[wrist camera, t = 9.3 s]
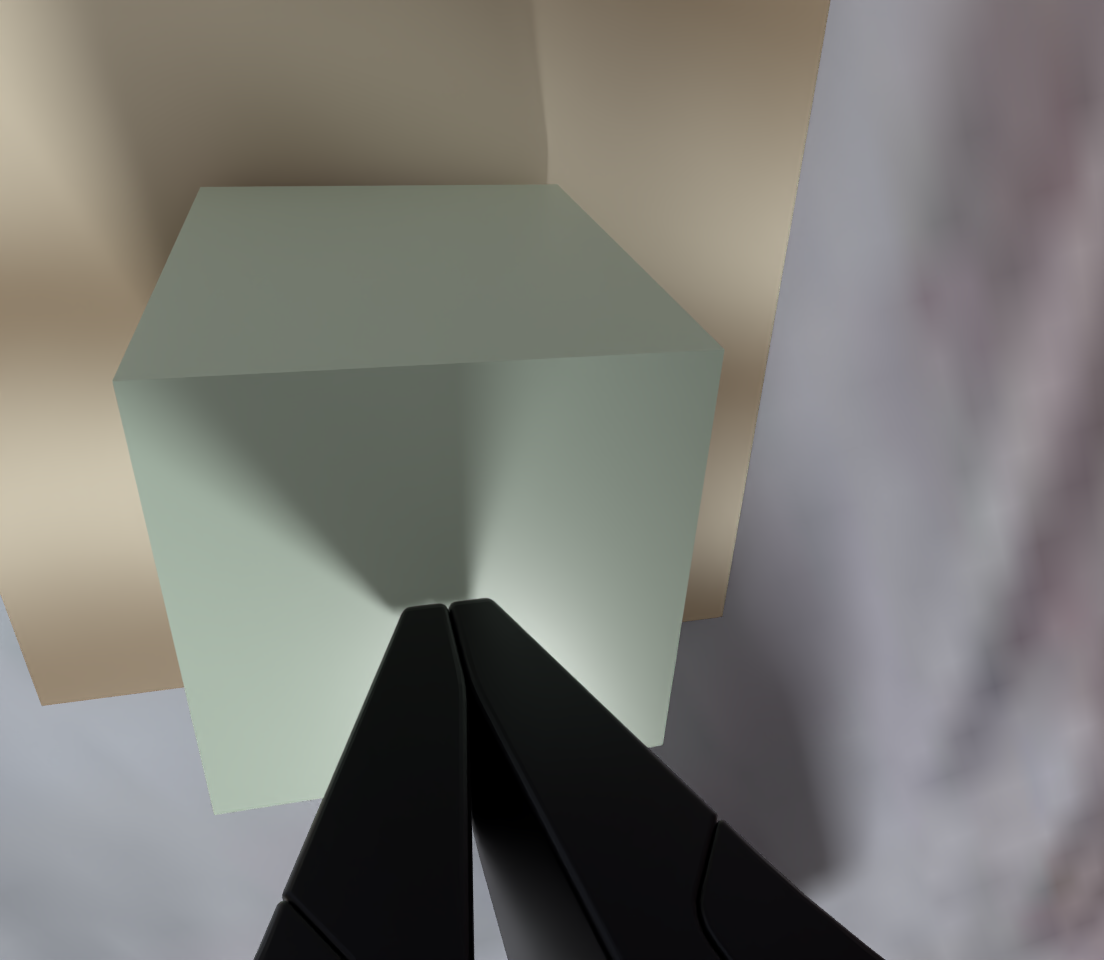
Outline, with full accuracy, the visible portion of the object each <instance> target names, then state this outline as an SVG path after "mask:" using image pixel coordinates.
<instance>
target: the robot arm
mask: <svg viewBox="0 0 1104 960" xmlns="http://www.w3.org/2000/svg"><path fill="white" fill-rule="evenodd" d="M717 821H718V815H717V814H716V812H715V811H714V810H713V809H711V808H710V807H709V806H708V805H707V804H706V803H705V802H704V801H703V800H702V799H701V798H700V797H699V796H698V795H697V794H696V793H695V792H694V791H693V790H692V789H691V788H689V787H688V786H687V785H686V784H685V783H684V782H683V781H682V780H681V779H680V778H679V777H678V776H677V775H676V774H675V773H674V772H673V771H672V770H671V769H670V768H669V767H668V766H666V765H665V764H664V763H663V762H662V761H661V760H660V759H659V758H658V757H657V756H656V755H655V754H654V753H653V752H652V751H651V750H650V749H649V748H648V747H647V746H646V745H644V744H643V743H642V742H641V741H640V740H639V739H638V738H637V737H636V736H635V735H634V734H633V733H632V732H631V731H630V730H629V729H628V728H627V727H626V726H625V725H624V724H622V723H621V722H620V721H619V720H618V719H617V718H616V717H615V716H614V715H613V714H612V713H611V712H610V711H609V710H608V709H607V708H606V707H605V706H604V705H603V704H602V703H601V702H599V701H598V700H597V699H596V698H595V697H594V696H593V695H592V694H591V693H590V692H589V691H588V690H587V689H586V688H585V687H584V686H583V685H582V684H581V683H580V682H579V681H577V680H576V679H575V678H574V677H573V676H572V675H571V674H570V673H569V672H568V671H567V670H566V669H565V668H564V667H563V666H562V665H561V664H560V663H559V662H558V661H557V660H555V659H554V658H553V657H552V656H551V655H550V654H549V653H548V652H547V651H546V650H545V649H544V648H543V647H542V646H541V645H540V644H539V643H538V642H537V641H536V640H535V639H533V638H532V637H531V636H530V635H529V634H528V633H527V632H526V631H525V630H524V629H523V628H522V627H521V626H520V625H519V624H518V623H517V622H516V621H515V620H514V619H513V618H512V617H510V616H509V615H508V614H507V613H506V612H505V611H504V610H503V609H502V608H501V607H500V606H499V605H498V604H497V603H496V602H495V601H493V600H492V599H489V598H479V599H470V600H462V601H455V602H453V603H451V604H450V606H449V608H447V607H446V605H444V604H442V603H437V604H428V605H420V606H411V607H407V608H406V609H404V611H403V612H402V614H401V616H400V618H399V620H398V623H397V625H396V627H395V630H394V632H393V634H392V637H391V639H390V642H389V644H388V646H387V649H386V651H385V653H384V656H383V658H382V660H381V663H380V665H379V667H378V670H377V672H376V675H375V677H374V679H373V682H372V684H371V686H370V689H369V691H368V693H367V696H366V698H365V700H364V703H363V705H362V707H361V710H360V712H359V715H358V717H357V719H356V722H355V724H354V726H353V729H352V731H351V733H350V736H349V738H348V740H347V743H346V745H345V748H344V750H343V752H342V755H341V757H340V759H339V762H338V764H337V766H336V769H335V771H334V773H333V776H332V778H331V781H330V783H329V785H328V788H327V790H326V792H325V795H324V797H323V799H322V802H321V804H320V806H319V809H318V811H317V814H316V816H315V818H314V821H313V823H312V825H311V828H310V830H309V832H308V835H307V837H306V839H305V842H304V844H303V847H302V849H301V851H300V854H299V856H298V858H297V861H296V863H295V865H294V868H293V870H292V872H291V875H290V877H289V880H288V882H287V884H286V887H285V889H284V891H283V894H282V898H283V901H281V902H280V903H279V904H278V905H277V907H276V909H275V911H274V914H273V916H272V918H271V921H270V923H269V925H268V928H267V930H266V932H265V935H264V937H263V939H262V942H261V944H260V947H259V949H258V951H257V953H256V955H255V957H254V960H474V912H473V858H472V827H473V833H474V837H475V841H476V845H477V849H478V853H479V857H480V861H481V864H482V868H483V871H484V875H485V879H486V882H487V886H488V889H489V893H490V897H491V900H492V904H493V908H494V911H495V915H496V918H497V922H498V926H499V929H500V933H501V936H502V940H503V944H504V947H505V951H506V954H507V958H508V960H885V959H883V958H882V957H881V956H880V955H878V954H877V953H876V952H875V951H873V950H872V949H871V948H869V947H868V946H867V945H866V944H864V943H863V942H862V941H861V940H859V939H858V938H857V937H856V936H855V935H853V934H852V933H851V932H850V931H848V930H847V929H846V928H845V927H844V926H842V925H841V924H840V923H839V922H837V921H836V920H835V919H834V918H833V917H831V916H830V915H829V914H828V913H826V912H825V911H824V910H823V909H822V908H820V907H819V906H818V905H817V904H815V903H814V902H813V901H812V900H811V899H809V898H808V897H807V896H806V895H805V894H803V893H802V892H801V891H800V890H799V889H798V888H797V887H796V886H795V885H793V884H792V883H791V882H790V881H789V880H788V879H787V878H786V877H785V876H784V875H782V874H781V873H780V872H779V871H778V870H777V869H776V868H775V867H774V866H772V865H771V864H770V863H769V862H768V861H767V860H766V859H765V858H764V857H763V856H761V855H760V854H759V853H758V852H757V851H756V850H755V849H754V848H753V847H752V846H751V845H750V844H749V843H747V842H746V841H745V840H744V839H743V838H742V837H741V836H740V835H739V834H738V833H737V832H736V831H735V830H734V829H733V828H732V827H731V826H730V825H729V824H728V823H727V822H726V821H724V820H721V821H718V822H717Z"/></svg>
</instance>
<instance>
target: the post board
mask: <svg viewBox="0 0 1104 960" xmlns="http://www.w3.org/2000/svg"><path fill="white" fill-rule="evenodd" d="M829 5H830V0H0V594H1V597H2V599H3V602H4V605H5V608H6V610H7V613H8V616H9V618H10V621H11V624H12V626H13V629H14V632H15V635H16V637H17V640H18V643H19V645H20V648H21V651H22V654H23V656H24V659H25V662H26V664H27V667H28V670H29V673H30V675H31V678H32V681H33V683H34V686H35V689H36V692H37V694H38V697H39V700H40V702H41V705H42V706H45V705H52V704H60V703H67V702H75V701H83V700H90V699H98V698H106V697H113V696H121V695H129V694H136V693H144V692H152V691H159V690H167V689H174V688H182V687H184V684H183V680H182V676H181V672H180V667H179V663H178V659H177V655H176V650H175V646H174V642H173V638H172V633H171V629H170V625H169V621H168V616H167V612H166V608H165V604H164V599H163V595H162V591H161V586H160V582H159V578H158V574H157V569H156V565H155V561H154V557H153V552H152V548H151V544H150V540H149V535H148V531H147V527H146V523H145V518H144V514H143V510H142V506H141V501H140V497H139V493H138V489H137V484H136V480H135V476H134V472H133V467H132V463H131V459H130V455H129V450H128V446H127V442H126V438H125V433H124V429H123V425H122V421H121V416H120V412H119V408H118V404H117V399H116V395H115V391H114V386H113V382H112V381H113V378H114V376H115V374H116V372H117V370H118V367H119V365H120V363H121V361H122V359H123V356H124V354H125V352H126V350H127V348H128V345H129V343H130V341H131V339H132V337H133V334H134V332H135V330H136V328H137V326H138V323H139V321H140V319H141V317H142V314H143V312H144V310H145V308H146V306H147V303H148V301H149V299H150V297H151V295H152V292H153V290H154V288H155V286H156V284H157V281H158V279H159V277H160V275H161V273H162V270H163V268H164V266H165V264H166V262H167V259H168V257H169V255H170V253H171V251H172V248H173V246H174V244H175V242H176V240H177V237H178V235H179V233H180V231H181V229H182V226H183V224H184V222H185V220H186V217H187V215H188V213H189V211H190V209H191V206H192V204H193V202H194V200H195V198H196V195H197V193H198V191H199V189H200V187H251V186H388V185H525V184H557V185H558V186H559V187H560V188H561V189H563V190H564V191H565V192H566V193H567V194H568V195H569V196H570V197H571V198H572V199H573V200H574V201H575V202H576V203H577V204H578V205H579V206H580V207H581V208H582V209H583V210H584V211H585V212H586V213H587V214H588V215H589V216H590V217H591V218H592V219H593V220H594V221H595V222H596V223H597V224H598V225H599V226H600V227H601V228H602V229H603V230H604V231H605V232H606V233H607V234H608V235H609V236H610V237H611V238H612V239H613V240H614V241H615V242H616V243H617V244H618V245H619V246H620V247H621V248H622V249H623V250H624V251H625V252H626V253H627V254H628V255H629V256H630V257H631V258H632V259H633V260H634V261H635V262H636V263H637V264H639V265H640V266H641V267H642V268H643V269H644V270H645V271H646V272H647V273H648V274H649V275H650V276H651V277H652V278H653V279H654V280H655V281H656V282H657V283H658V284H659V285H660V286H661V287H662V288H663V289H664V290H665V291H666V292H667V293H668V294H669V295H670V296H671V297H672V298H673V299H674V300H675V301H676V302H677V303H678V304H679V305H680V306H681V307H682V308H683V309H684V310H685V311H686V312H687V313H688V314H689V315H690V316H691V317H692V318H693V319H694V320H695V321H696V322H697V323H698V324H699V325H700V326H701V327H702V328H703V329H704V330H705V331H706V332H707V333H708V334H709V335H710V336H711V337H712V338H713V339H715V340H716V341H717V342H718V343H719V344H720V345H721V346H722V347H723V348H724V349H725V350H724V356H723V363H722V369H721V375H720V382H719V388H718V394H717V401H716V407H715V414H714V420H713V426H712V433H711V439H710V446H709V452H708V458H707V465H706V471H705V478H704V484H703V490H702V497H701V503H700V510H699V516H698V522H697V529H696V535H695V542H694V548H693V554H692V561H691V567H690V574H689V580H688V586H687V593H686V599H685V606H684V612H683V618H682V622H686V621H694V620H702V619H709V618H717V617H722V615H723V609H724V603H725V598H726V592H727V586H728V581H729V575H730V569H731V563H732V558H733V552H734V546H735V541H736V535H737V529H738V524H739V518H740V512H741V506H742V501H743V495H744V489H745V484H746V478H747V472H748V467H749V461H750V455H751V450H752V444H753V438H754V432H755V427H756V421H757V415H758V410H759V404H760V398H761V393H762V387H763V381H764V375H765V370H766V364H767V358H768V353H769V347H770V341H771V336H772V330H773V324H774V319H775V313H776V307H777V301H778V296H779V290H780V284H781V279H782V273H783V267H784V262H785V256H786V250H787V245H788V239H789V233H790V227H791V222H792V216H793V210H794V205H795V199H796V193H797V188H798V182H799V176H800V170H801V165H802V159H803V153H804V148H805V142H806V136H807V131H808V125H809V119H810V114H811V108H812V102H813V96H814V91H815V85H816V79H817V74H818V68H819V62H820V57H821V51H822V45H823V40H824V34H825V28H826V22H827V17H828V11H829Z"/></svg>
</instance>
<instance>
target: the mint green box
mask: <svg viewBox="0 0 1104 960" xmlns="http://www.w3.org/2000/svg"><path fill="white" fill-rule="evenodd" d="M724 350H725V349H724V348H723V347H722V346H721V345H720V344H719V343H718V342H717V341H716V340H715V339H713V338H712V337H711V336H710V335H709V334H708V333H707V332H706V331H705V330H704V329H703V328H702V327H701V326H700V325H699V324H698V323H697V322H696V321H695V320H694V319H693V318H692V317H691V316H690V315H689V314H688V313H687V312H686V311H685V310H684V309H683V308H682V307H681V306H680V305H679V304H678V303H677V302H676V301H675V300H674V299H673V298H672V297H671V296H670V295H669V294H668V293H667V292H666V291H665V290H664V289H663V288H662V287H661V286H660V285H659V284H658V283H657V282H656V281H655V280H654V279H653V278H652V277H651V276H650V275H649V274H648V273H647V272H646V271H645V270H644V269H643V268H642V267H641V266H640V265H639V264H637V263H636V262H635V261H634V260H633V259H632V258H631V257H630V256H629V255H628V254H627V253H626V252H625V251H624V250H623V249H622V248H621V247H620V246H619V245H618V244H617V243H616V242H615V241H614V240H613V239H612V238H611V237H610V236H609V235H608V234H607V233H606V232H605V231H604V230H603V229H602V228H601V227H600V226H599V225H598V224H597V223H596V222H595V221H594V220H593V219H592V218H591V217H590V216H589V215H588V214H587V213H586V212H585V211H584V210H583V209H582V208H581V207H580V206H579V205H578V204H577V203H576V202H575V201H574V200H573V199H572V198H571V197H570V196H569V195H568V194H567V193H566V192H565V191H564V190H563V189H561V188H560V187H559V186H558V185H557V184H525V185H388V186H251V187H200V189H199V191H198V193H197V195H196V198H195V200H194V202H193V204H192V206H191V209H190V211H189V213H188V215H187V217H186V220H185V222H184V224H183V226H182V229H181V231H180V233H179V235H178V237H177V240H176V242H175V244H174V246H173V248H172V251H171V253H170V255H169V257H168V259H167V262H166V264H165V266H164V268H163V270H162V273H161V275H160V277H159V279H158V281H157V284H156V286H155V288H154V290H153V292H152V295H151V297H150V299H149V301H148V303H147V306H146V308H145V310H144V312H143V314H142V317H141V319H140V321H139V323H138V326H137V328H136V330H135V332H134V334H133V337H132V339H131V341H130V343H129V345H128V348H127V350H126V352H125V354H124V356H123V359H122V361H121V363H120V365H119V367H118V370H117V372H116V374H115V376H114V378H113V381H112V382H113V386H114V391H115V395H116V399H117V404H118V408H119V412H120V416H121V421H122V425H123V429H124V433H125V438H126V442H127V446H128V450H129V455H130V459H131V463H132V467H133V472H134V476H135V480H136V484H137V489H138V493H139V497H140V501H141V506H142V510H143V514H144V518H145V523H146V527H147V531H148V535H149V540H150V544H151V548H152V552H153V557H154V561H155V565H156V569H157V574H158V578H159V582H160V586H161V591H162V595H163V599H164V604H165V608H166V612H167V616H168V621H169V625H170V629H171V633H172V638H173V642H174V646H175V650H176V655H177V659H178V663H179V667H180V672H181V676H182V680H183V684H184V689H185V693H186V697H187V701H188V706H189V710H190V714H191V718H192V723H193V727H194V731H195V735H196V740H197V744H198V748H199V752H200V757H201V761H202V765H203V769H204V774H205V778H206V782H207V786H208V791H209V795H210V799H211V804H212V808H213V812H214V815H218V814H224V813H230V812H237V811H243V810H250V809H256V808H263V807H269V806H275V805H282V804H288V803H295V802H301V801H308V800H314V799H321V798H323V797H324V795H325V792H326V790H327V788H328V785H329V783H330V781H331V778H332V776H333V773H334V771H335V769H336V766H337V764H338V762H339V759H340V757H341V755H342V752H343V750H344V748H345V745H346V743H347V740H348V738H349V736H350V733H351V731H352V729H353V726H354V724H355V722H356V719H357V717H358V715H359V712H360V710H361V707H362V705H363V703H364V700H365V698H366V696H367V693H368V691H369V689H370V686H371V684H372V682H373V679H374V677H375V675H376V672H377V670H378V667H379V665H380V663H381V660H382V658H383V656H384V653H385V651H386V649H387V646H388V644H389V642H390V639H391V637H392V634H393V632H394V630H395V627H396V625H397V623H398V620H399V618H400V616H401V614H402V612H403V611H404V609H406V608H407V607H411V606H420V605H428V604H437V603H442V604H444V605H446V607H447V608H449V606H450V604H451V603H453V602H455V601H462V600H470V599H479V598H489V599H492V600H493V601H495V602H496V603H497V604H498V605H499V606H500V607H501V608H502V609H503V610H504V611H505V612H506V613H507V614H508V615H509V616H510V617H512V618H513V619H514V620H515V621H516V622H517V623H518V624H519V625H520V626H521V627H522V628H523V629H524V630H525V631H526V632H527V633H528V634H529V635H530V636H531V637H532V638H533V639H535V640H536V641H537V642H538V643H539V644H540V645H541V646H542V647H543V648H544V649H545V650H546V651H547V652H548V653H549V654H550V655H551V656H552V657H553V658H554V659H555V660H557V661H558V662H559V663H560V664H561V665H562V666H563V667H564V668H565V669H566V670H567V671H568V672H569V673H570V674H571V675H572V676H573V677H574V678H575V679H576V680H577V681H579V682H580V683H581V684H582V685H583V686H584V687H585V688H586V689H587V690H588V691H589V692H590V693H591V694H592V695H593V696H594V697H595V698H596V699H597V700H598V701H599V702H601V703H602V704H603V705H604V706H605V707H606V708H607V709H608V710H609V711H610V712H611V713H612V714H613V715H614V716H615V717H616V718H617V719H618V720H619V721H620V722H621V723H622V724H624V725H625V726H626V727H627V728H628V729H629V730H630V731H631V732H632V733H633V734H634V735H635V736H636V737H637V738H638V739H639V740H640V741H641V742H642V743H643V744H644V745H646V746H647V747H648V748H649V747H655V746H661V745H663V740H664V733H665V727H666V721H667V714H668V708H669V701H670V695H671V689H672V682H673V676H674V670H675V663H676V657H677V650H678V644H679V638H680V631H681V625H682V618H683V612H684V606H685V599H686V593H687V586H688V580H689V574H690V567H691V561H692V554H693V548H694V542H695V535H696V529H697V522H698V516H699V510H700V503H701V497H702V490H703V484H704V478H705V471H706V465H707V458H708V452H709V446H710V439H711V433H712V426H713V420H714V414H715V407H716V401H717V394H718V388H719V382H720V375H721V369H722V363H723V356H724Z"/></svg>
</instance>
